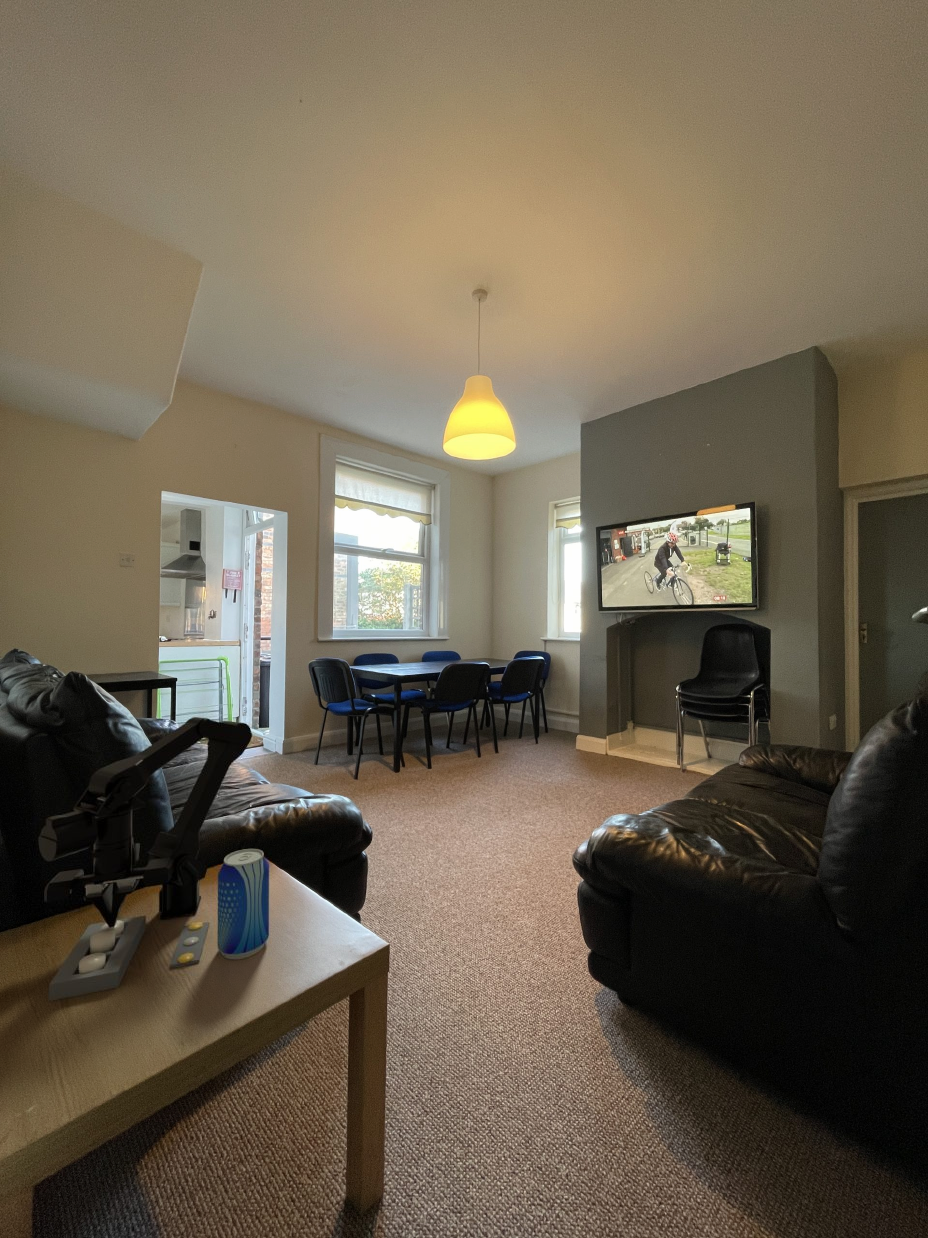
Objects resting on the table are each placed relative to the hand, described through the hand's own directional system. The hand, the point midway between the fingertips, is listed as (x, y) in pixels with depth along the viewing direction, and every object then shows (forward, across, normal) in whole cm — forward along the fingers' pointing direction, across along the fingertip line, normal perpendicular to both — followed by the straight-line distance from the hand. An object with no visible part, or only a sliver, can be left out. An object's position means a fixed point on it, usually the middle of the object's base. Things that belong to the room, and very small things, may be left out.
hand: (112, 926), depth 93 cm
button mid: (+1, 0, +5) cm, 5 cm away
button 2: (+3, 0, 0) cm, 3 cm away
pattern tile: (+3, -13, +5) cm, 15 cm away
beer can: (+4, -22, +9) cm, 24 cm away
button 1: (+2, 0, +10) cm, 10 cm away
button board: (+3, 0, +5) cm, 6 cm away
